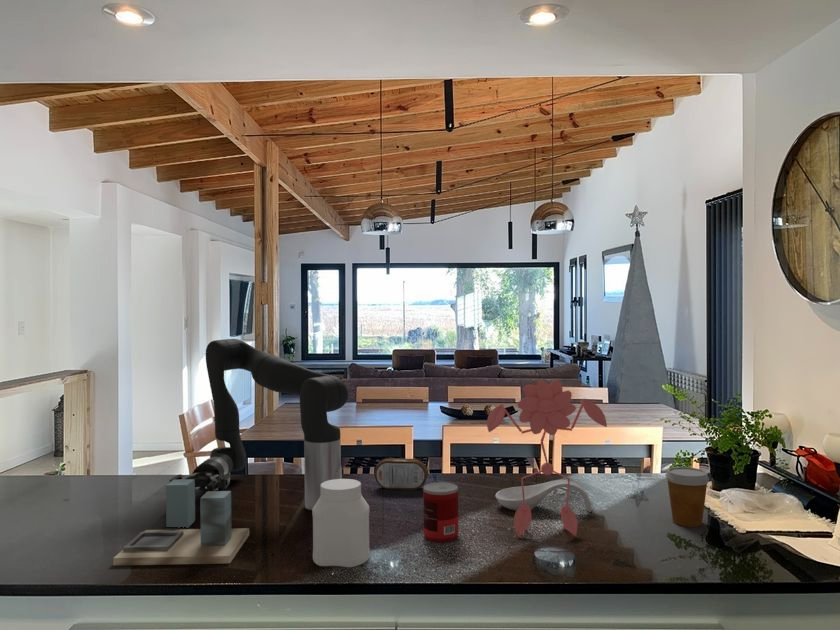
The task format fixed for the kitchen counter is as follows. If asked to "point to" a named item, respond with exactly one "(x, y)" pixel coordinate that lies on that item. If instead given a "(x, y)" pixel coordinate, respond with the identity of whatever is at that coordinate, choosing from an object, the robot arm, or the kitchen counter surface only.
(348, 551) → the jar
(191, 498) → the pillar
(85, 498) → the kitchen counter surface
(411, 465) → the tin
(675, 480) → the disposable coffee cup
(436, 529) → the canned food
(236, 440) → the robot arm
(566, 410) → the figurine
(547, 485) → the spoon rest
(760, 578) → the kitchen counter surface
